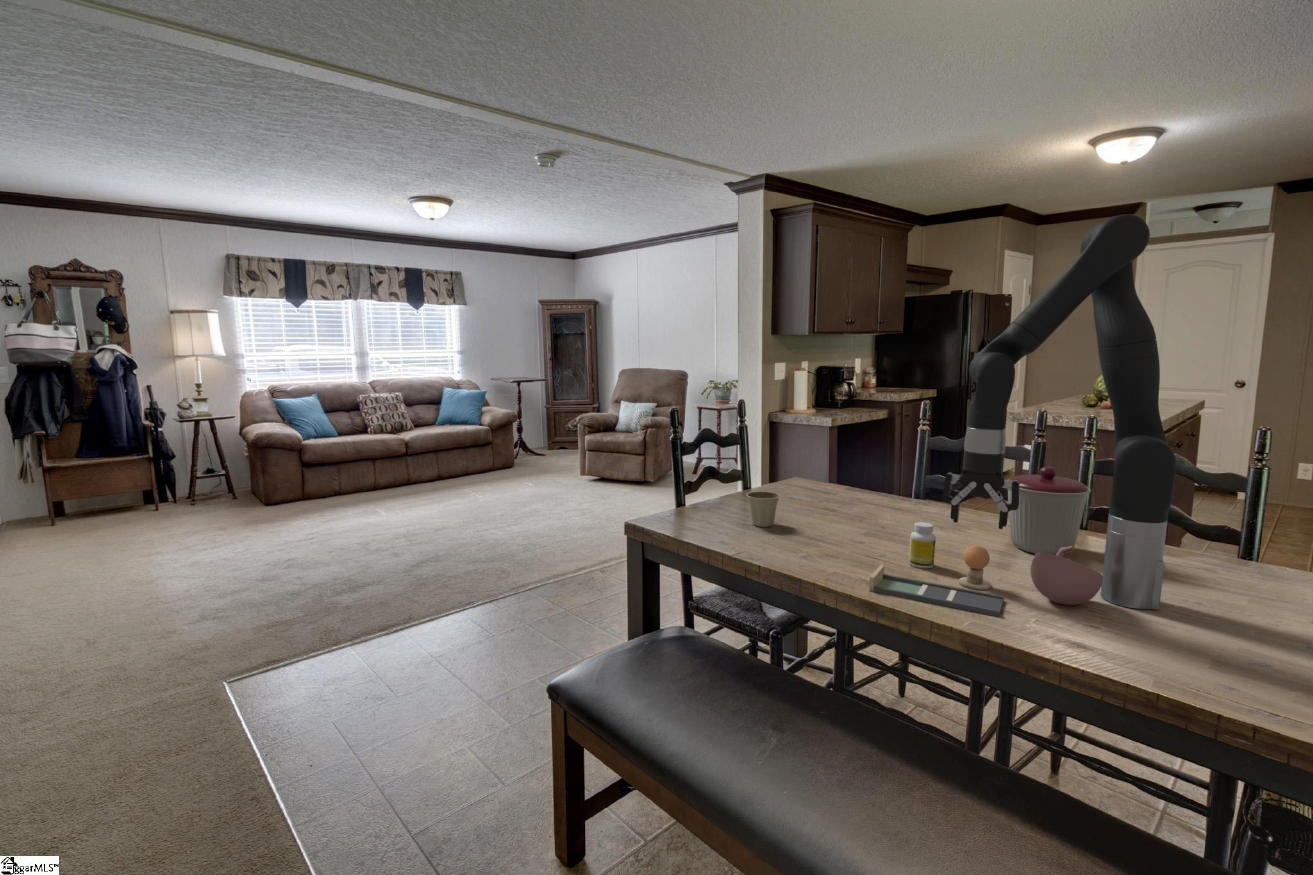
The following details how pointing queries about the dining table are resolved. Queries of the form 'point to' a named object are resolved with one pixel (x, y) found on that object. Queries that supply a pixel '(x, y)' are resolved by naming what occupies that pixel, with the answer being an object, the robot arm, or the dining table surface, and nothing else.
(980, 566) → the ball
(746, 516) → the dining table surface
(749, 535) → the dining table surface
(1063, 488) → the canister
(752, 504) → the flower pot
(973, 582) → the beige brimmed cylinder
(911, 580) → the lane
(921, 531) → the supplement bottle
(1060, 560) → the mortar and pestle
